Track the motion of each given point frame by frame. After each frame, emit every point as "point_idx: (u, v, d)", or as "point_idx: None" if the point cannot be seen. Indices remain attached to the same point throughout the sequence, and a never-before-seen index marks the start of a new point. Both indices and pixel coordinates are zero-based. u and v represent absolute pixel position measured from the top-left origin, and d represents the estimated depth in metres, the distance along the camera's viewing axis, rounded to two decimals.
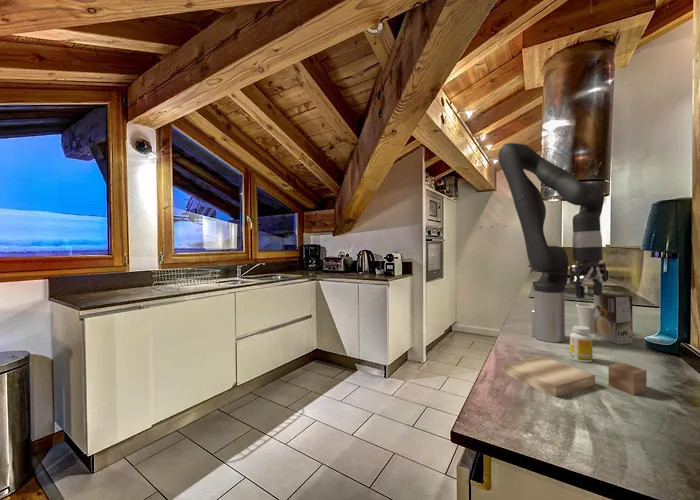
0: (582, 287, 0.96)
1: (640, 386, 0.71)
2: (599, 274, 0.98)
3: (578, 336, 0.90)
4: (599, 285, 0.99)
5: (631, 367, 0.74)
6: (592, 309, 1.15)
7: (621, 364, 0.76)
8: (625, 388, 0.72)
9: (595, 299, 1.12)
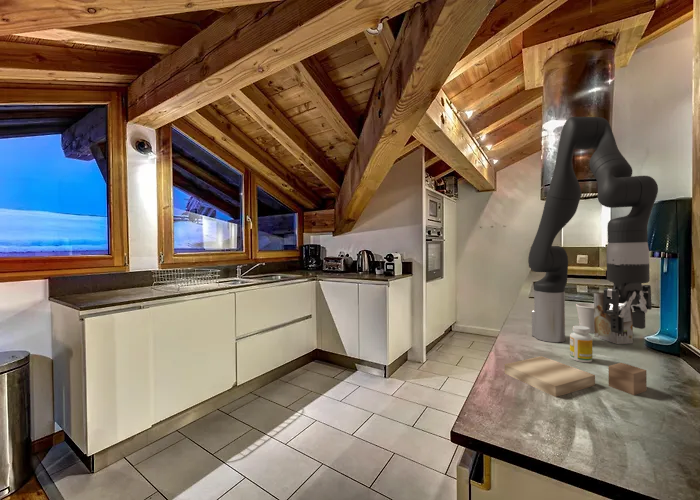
0: (620, 319, 0.71)
1: (640, 386, 0.71)
2: (643, 300, 0.73)
3: (578, 336, 0.90)
4: (641, 315, 0.74)
5: (631, 367, 0.74)
6: (592, 309, 1.15)
7: (621, 364, 0.76)
8: (625, 388, 0.72)
9: (595, 299, 1.12)
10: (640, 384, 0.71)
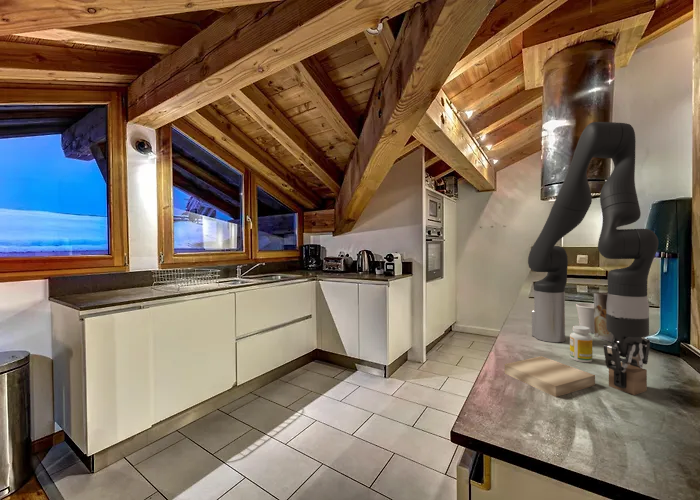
0: (623, 374, 0.72)
1: (640, 386, 0.71)
2: (640, 354, 0.73)
3: (578, 336, 0.90)
4: None
5: (631, 367, 0.74)
6: (592, 309, 1.15)
7: (621, 364, 0.76)
8: (625, 388, 0.72)
9: (595, 299, 1.12)
10: (640, 384, 0.71)
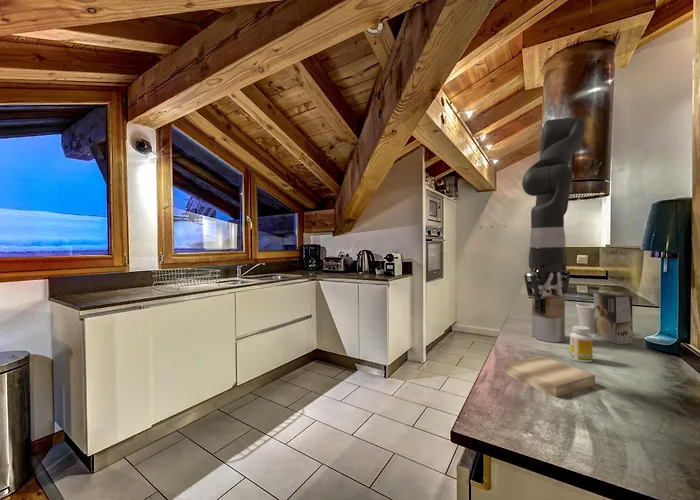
0: (542, 300, 0.77)
1: (558, 311, 0.77)
2: (559, 283, 0.78)
3: (578, 336, 0.90)
4: None
5: (552, 296, 0.79)
6: (592, 309, 1.15)
7: None
8: None
9: (595, 299, 1.12)
10: (558, 309, 0.77)
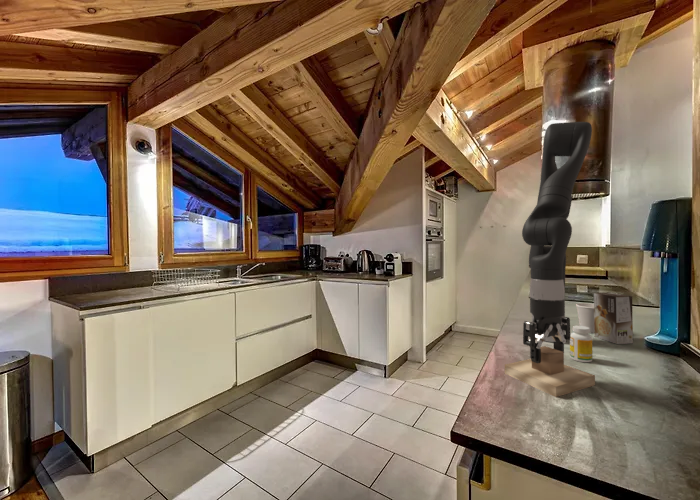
0: (538, 350, 0.77)
1: (557, 366, 0.77)
2: (560, 332, 0.79)
3: (577, 335, 0.90)
4: (560, 345, 0.80)
5: (551, 349, 0.80)
6: (592, 309, 1.15)
7: (544, 347, 0.82)
8: (544, 369, 0.78)
9: (595, 299, 1.12)
10: (557, 365, 0.77)
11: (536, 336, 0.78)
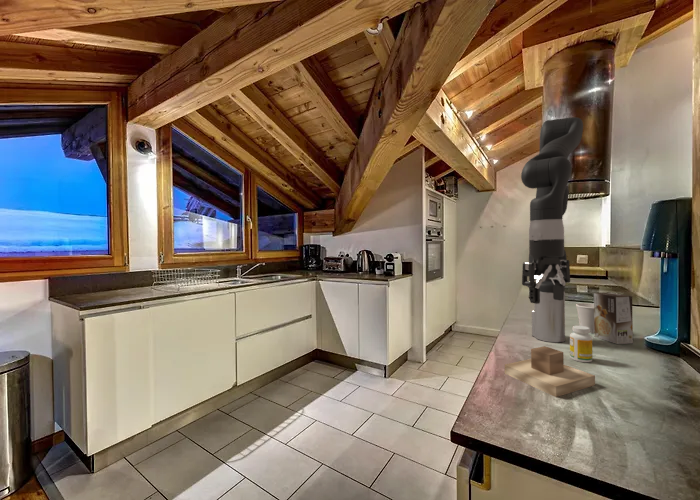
0: (537, 290, 0.77)
1: (557, 367, 0.77)
2: (560, 274, 0.78)
3: (577, 335, 0.90)
4: (559, 287, 0.80)
5: (551, 350, 0.80)
6: (592, 309, 1.15)
7: (543, 347, 0.81)
8: (543, 369, 0.78)
9: (595, 299, 1.12)
10: (557, 365, 0.77)
11: (535, 277, 0.78)
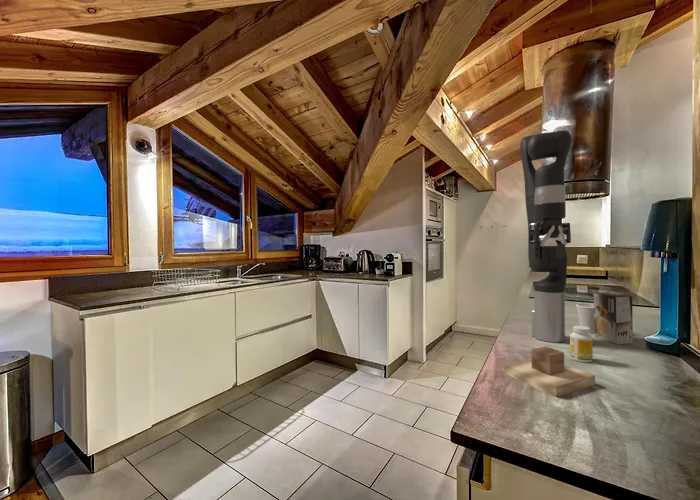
0: (541, 247, 0.87)
1: (557, 367, 0.77)
2: (561, 234, 0.89)
3: (578, 336, 0.90)
4: (561, 247, 0.90)
5: (551, 350, 0.79)
6: (592, 309, 1.15)
7: (544, 347, 0.81)
8: (543, 369, 0.78)
9: (595, 299, 1.12)
10: (557, 365, 0.77)
11: (540, 236, 0.88)
